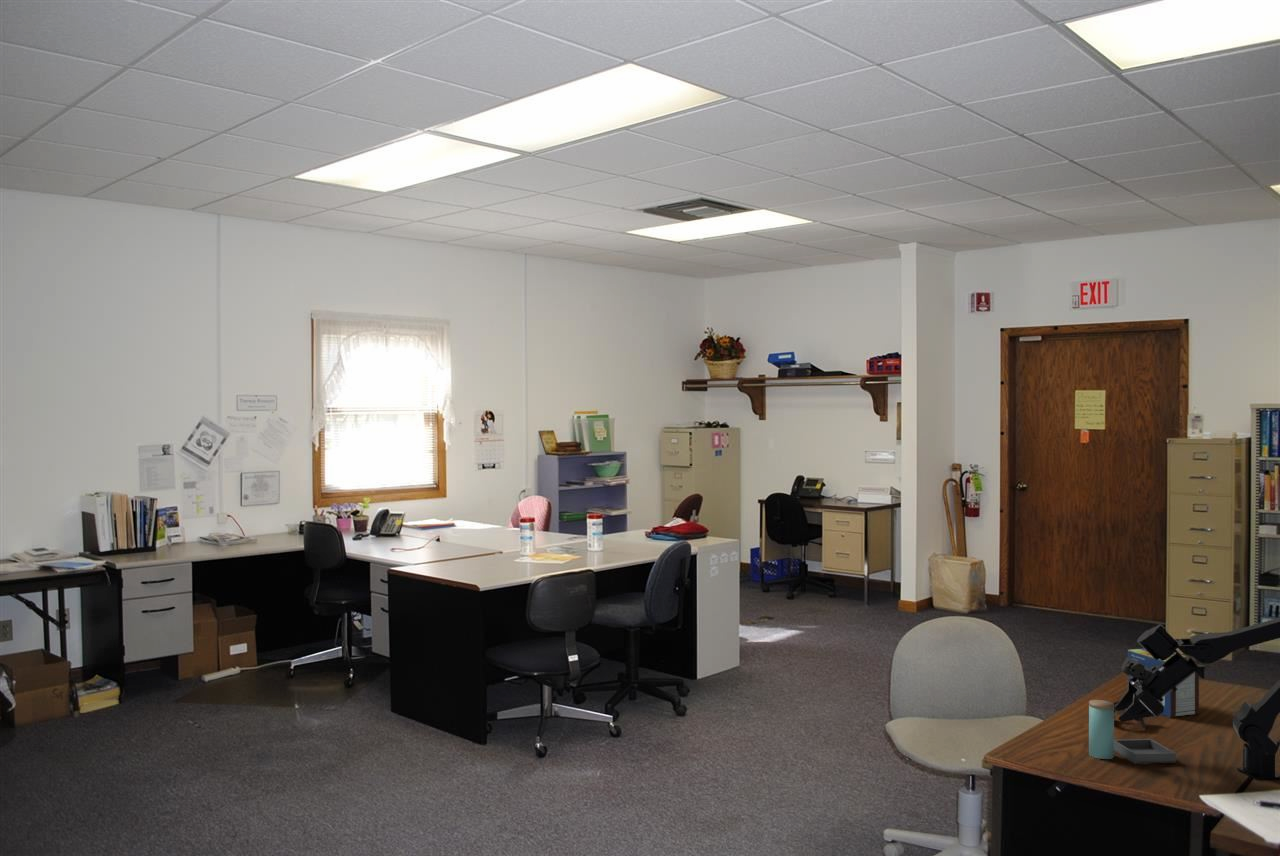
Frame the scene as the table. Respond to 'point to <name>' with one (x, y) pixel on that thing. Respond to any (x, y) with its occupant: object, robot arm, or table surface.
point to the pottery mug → (1139, 723)
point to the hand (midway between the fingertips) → (1118, 714)
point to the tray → (1144, 751)
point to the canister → (1101, 729)
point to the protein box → (1173, 702)
